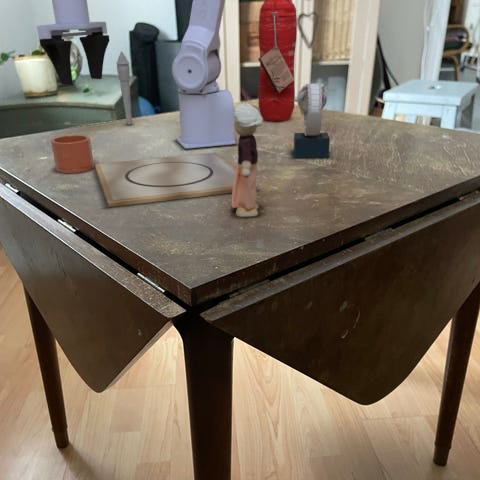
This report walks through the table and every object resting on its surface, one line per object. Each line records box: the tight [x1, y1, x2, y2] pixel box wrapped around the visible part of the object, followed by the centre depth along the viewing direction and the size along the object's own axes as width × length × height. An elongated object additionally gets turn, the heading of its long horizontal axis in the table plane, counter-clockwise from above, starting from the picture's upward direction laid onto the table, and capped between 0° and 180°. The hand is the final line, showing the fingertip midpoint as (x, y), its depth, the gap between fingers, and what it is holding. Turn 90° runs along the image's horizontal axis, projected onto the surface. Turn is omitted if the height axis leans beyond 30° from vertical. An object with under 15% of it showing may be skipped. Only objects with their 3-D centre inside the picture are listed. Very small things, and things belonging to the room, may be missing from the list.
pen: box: [115, 51, 133, 126], centre depth 111 cm, size 2×3×14 cm
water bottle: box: [257, 0, 298, 123], centre depth 109 cm, size 12×8×25 cm, turn 168°
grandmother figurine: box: [230, 102, 264, 218], centre depth 64 cm, size 8×4×13 cm, turn 5°
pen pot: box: [50, 134, 95, 174], centre depth 85 cm, size 6×6×4 cm
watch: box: [293, 83, 331, 159], centre depth 88 cm, size 6×8×11 cm
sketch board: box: [94, 152, 236, 208], centre depth 80 cm, size 20×20×1 cm
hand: (82, 81), depth 98 cm, fingers open, 7 cm apart
